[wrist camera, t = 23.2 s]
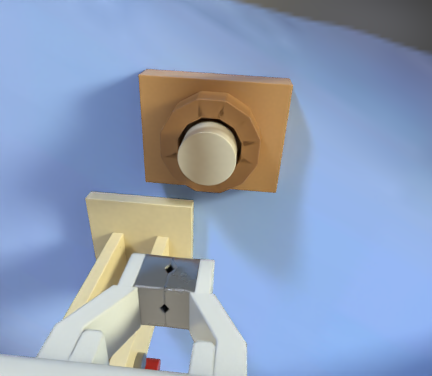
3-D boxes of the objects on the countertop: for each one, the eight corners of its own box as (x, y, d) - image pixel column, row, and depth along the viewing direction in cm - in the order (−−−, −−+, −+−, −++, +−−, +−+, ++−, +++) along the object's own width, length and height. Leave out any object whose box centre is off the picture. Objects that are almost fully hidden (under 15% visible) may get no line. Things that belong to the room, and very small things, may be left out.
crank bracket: (192, 291, 34) (163, 441, 23) (105, 282, 35) (33, 426, 23) (193, 199, 29) (156, 336, 17) (90, 190, 29) (-14, 318, 18)
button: (239, 122, 21) (238, 134, 19) (235, 173, 23) (234, 188, 21) (182, 118, 21) (176, 129, 20) (182, 169, 23) (177, 183, 21)
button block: (289, 78, 23) (297, 92, 20) (274, 180, 27) (278, 207, 24) (146, 68, 24) (128, 81, 20) (151, 170, 27) (137, 195, 24)
